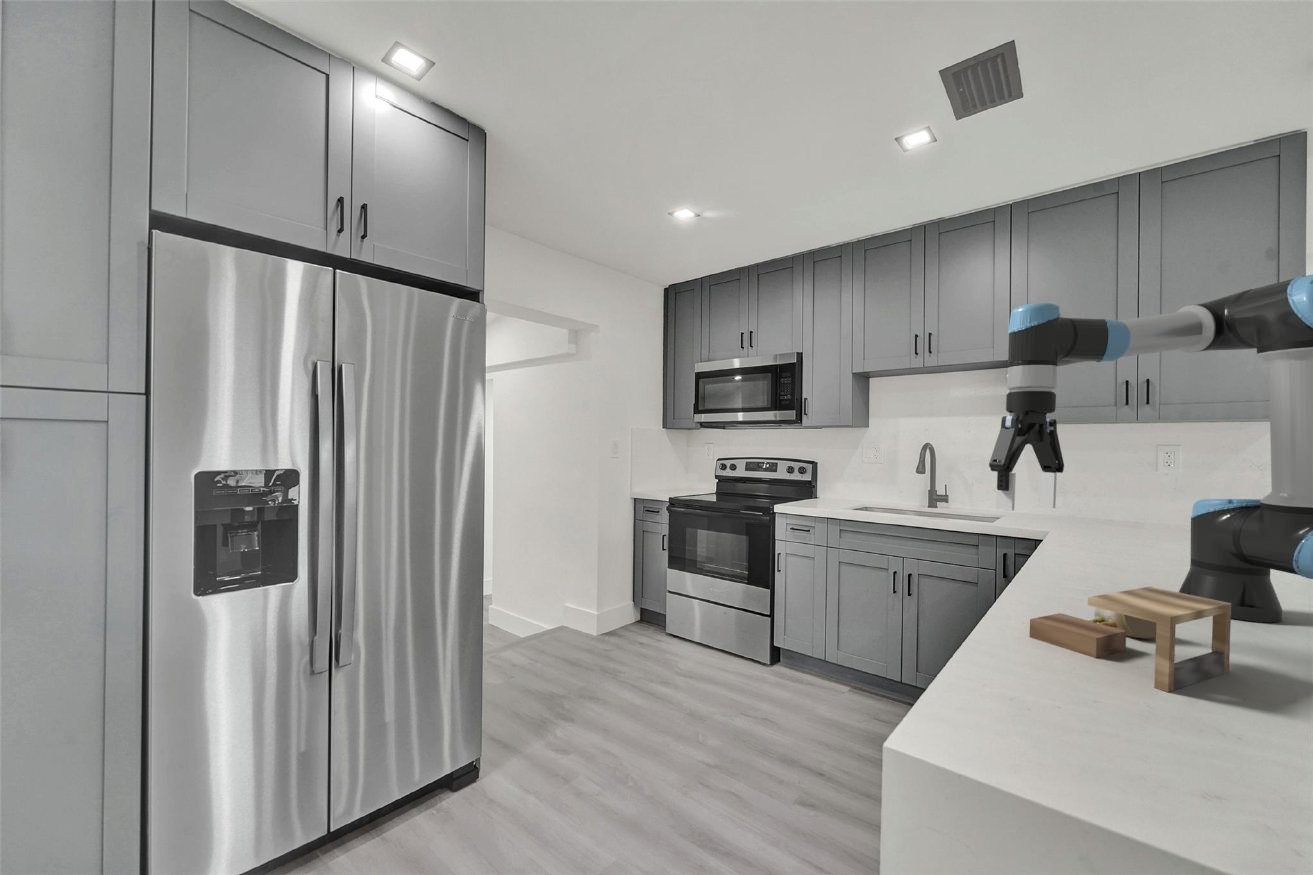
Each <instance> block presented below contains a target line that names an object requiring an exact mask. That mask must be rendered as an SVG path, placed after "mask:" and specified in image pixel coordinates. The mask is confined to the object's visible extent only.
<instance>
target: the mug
mask: <svg viewBox="0 0 1313 875" xmlns="http://www.w3.org/2000/svg"><path fill="white" fill-rule="evenodd" d="M1093 616H1094V618H1092V619H1089V620H1088V621H1091V622H1095V623H1099V624H1102V625H1106V626H1110V627H1114V628H1117V629H1121V630H1125V631H1126V637H1131V638H1134V639H1135V638H1136V639H1150V638H1153V637H1156V622H1152V621H1149V620H1145V619H1141V618H1137V617H1133V616H1129V615H1125V614H1121V613H1117V612H1113V611H1109V610H1105V609H1101V608H1097V607H1094V609H1093Z"/></svg>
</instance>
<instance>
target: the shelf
mask: <svg viewBox="0 0 1313 875" xmlns="http://www.w3.org/2000/svg"><path fill="white" fill-rule="evenodd" d="M1087 606H1089V607H1094V608H1095V607H1097V608H1101V609H1105V610H1109V611H1113V612H1117V613H1121V614H1125V615H1129V616H1133V617H1137V618H1141V619H1145V620H1149V621H1152V622H1156V635H1155V655H1154V656H1155V657H1154V659H1155V661H1154V662H1155V663H1154V687H1153V688H1154V689H1157V690H1160V691H1163V692H1166V693H1170V692H1172V691H1173V692H1174V691H1176V690H1179V689H1181V688H1184V687H1189V686H1191V685H1194V684H1197V683H1199V682H1202V681H1206V680H1208V679H1211V678H1214V677H1217V676H1220V675H1224V674H1226V673H1229V672H1230V657H1231V656H1230V653H1231V624H1232V623H1231V622H1232V620H1231V619H1232V618H1231V603H1227V602H1222V601H1217V600H1213V599H1208V598H1203V597H1198V596H1193V595H1188V594H1184V593H1179V591H1173V590H1168V589H1164V588H1160V587H1153V586H1146V587H1139V588H1133V589H1129V590H1128V589H1127V590H1122V591H1117V592H1112V593H1111V592H1110V593H1105V594H1099V595H1093V596H1092V595H1091V596H1088V597H1087ZM1209 617H1212V632H1211V633H1212V634H1211V635H1212V636H1211V652H1207V653H1204V654H1199V655H1197V656H1193V657H1190V658H1187V659H1183V660H1180V661H1176V662H1175V660H1176V658H1175V657H1176V654H1175V652H1176V626H1177V625H1179V624H1184V623H1189V622H1193V621H1196V620H1200V619H1204V618H1209Z"/></svg>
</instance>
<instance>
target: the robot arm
mask: <svg viewBox="0 0 1313 875" xmlns="http://www.w3.org/2000/svg"><path fill="white" fill-rule="evenodd" d="M1007 334H1008V348H1007V349H1008V350H1007V352H1008V353H1007V375H1006V379H1007V383H1006V384H1007V385H1006V388H1007V389H1008V391H1010V392H1008V393H1007V394H1006V396H1005V397H1006V400H1005V410H1006V412H1007V413H1010V414H1013V415H1005V416H1002V417H1001V421H1000V423H1001V424H1000V428H999V429H1000V430H999V433H998V435H997V438H996V440H995V441H996V442H995V445H994V448H993V451H992V454H991V456H990V460H989V462H988V463H989V464H988V467H989V468H990V471H991V472H996V473H997V477H996V478H997V479H996V499H995V500H996V502H995V503H996V504H995V509H996V510H1006V511H1015V501H1016V498H1015V497H1016V496H1015V495H1016V472H1013V470H1014V469H1015V467H1016V465H1017V463H1018V461H1019V459H1020V457H1021V456H1022V453H1023V451H1024V449H1025V447H1026V446H1027V445H1031V447H1032V449H1033V452H1034V454H1035V456H1036V459H1037V462H1038V464H1039V466H1040V469H1041V471H1038V479H1037V480H1038V481H1037V482H1038V483H1037V484H1038V486H1037V487H1038V488H1037V505H1036V506H1037V507H1040V508H1048V509H1049V508H1050V509H1056V499H1057V497H1056V496H1057V473H1058V474H1059V473H1060V474H1062V473H1064V468H1065V462H1064V457H1063V452H1062V449H1061V444H1060V440H1059V435H1058V429H1057V428H1058V425H1057V419H1056V418H1054V419H1053V418H1052V419H1051V418H1050V419H1048V418H1047V414H1053V413H1055V412H1056V410H1057V409H1056V407H1057V406H1056V405H1057V402H1056V401H1057V394H1056V393H1055V392H1053V390H1056V389H1057V387H1058V386H1057V384H1058V383H1057V382H1058V367H1061V366H1062V367H1063V366H1068V365H1075V364H1076V365H1077V364H1082V363H1083V364H1084V363H1089V362H1096V363H1101V362H1114V361H1118V360H1119V359H1120V358H1126V357H1132V356H1133V357H1134V356H1140V355H1149V354H1155V353H1162V352H1164V353H1165V352H1168V351H1176V350H1177V351H1178V350H1180V351H1182V352H1184V353H1199V352H1210V351H1231V350H1232V351H1233V350H1234V351H1236V350H1255V349H1256V357H1258V358H1259V359H1261V360H1262V361H1263V362H1266V363H1267V364H1268V381H1269V382H1268V383H1269V385H1268V386H1269V391H1268V392H1269V422H1270V423H1269V426H1270V427H1269V429H1270V432H1269V434H1270V435H1269V437H1270V466H1271V467H1270V473H1271V474H1270V478H1271V482H1270V483H1271V485H1270V486H1271V491H1270V492H1269V494H1267V495H1266V496H1264V497H1263V498H1261V499H1260V498H1256V499H1255V498H1254V499H1253V498H1209V499H1208V498H1203V499H1199V500H1197V501H1196V502H1194V503H1193V506H1192V512H1191V516H1190V567H1189V570H1188V572H1187V574H1186V576H1185V578H1184V579H1183V582H1182V584H1181V586H1180V588H1179V590H1178V592H1179V593H1184V594H1188V595H1193V596H1198V597H1203V598H1208V599H1213V600H1217V601H1222V602H1227V603H1231V619H1234V620H1241V621H1246V622H1247V621H1248V622H1249V621H1250V622H1255V623H1256V622H1259V623H1278V622H1281V621H1282V620H1283V607H1282V605H1281V602H1280V600H1279V597H1278V595H1277V593H1276V590H1275V588H1274V586H1273V583H1272V581H1271V570H1273V571H1277V572H1278V571H1279V572H1284V573H1287V574H1293V575H1296V576H1300V577H1303V578H1306V579H1310V580H1313V274H1308V275H1300V276H1298V277H1294V278H1291V279H1288V280H1284V281H1280V282H1274V283H1272V284H1268V285H1264V286H1259V287H1255V288H1251V289H1246V290H1243V291H1240V292H1235V293H1232V294H1230V295H1227V296H1226V295H1225V296H1223V297H1220V298H1217V299H1214V300H1209V301H1206V302H1202V303H1197V304H1192V305H1186V306H1184V307H1181V308H1180V309H1178V310H1177V311H1176V312H1170V313H1163V314H1155V315H1150V316H1149V315H1148V316H1141V317H1136V318H1128V319H1121V320H1116V319H1108V318H1080V317H1079V318H1078V317H1077V318H1076V317H1075V318H1074V317H1073V318H1072V317H1063V316H1061V312H1060V307H1059V305H1057V304H1055V303H1054V304H1053V303H1050V302H1038V303H1037V302H1036V303H1030V304H1029V303H1028V304H1024V305H1019V306H1018V307H1015V308H1014V309H1013V310H1012V311H1011V313H1010V318H1009V326H1008V331H1007Z"/></svg>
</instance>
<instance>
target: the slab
mask: <svg viewBox="0 0 1313 875" xmlns="http://www.w3.org/2000/svg"><path fill="white" fill-rule="evenodd" d="M1028 636H1029V638H1030V639H1034V640H1037V641H1040V642H1044V643H1047V644H1050V645H1052V646H1056V647H1059V648H1061V649H1064V650H1069V651H1071V652H1074V653H1077V654H1081V655H1084V656H1087V657H1090V658H1094V659H1099V658H1102V657H1106V656H1109V654H1110V655H1113V654H1116V653H1119V652H1123V651H1127V649H1126V647H1127V635H1126V631H1125V630H1121V629H1117V628H1114V627H1110V626H1106V625H1102V624H1099V622H1097V623H1095V622H1091V621H1089V620H1088V619H1083V618H1079V617H1076V616H1072V615H1069V614H1065V613H1061V612H1058V613H1054V614H1049V615H1044V616H1039V617H1034V618H1030V619H1029V635H1028Z"/></svg>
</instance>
